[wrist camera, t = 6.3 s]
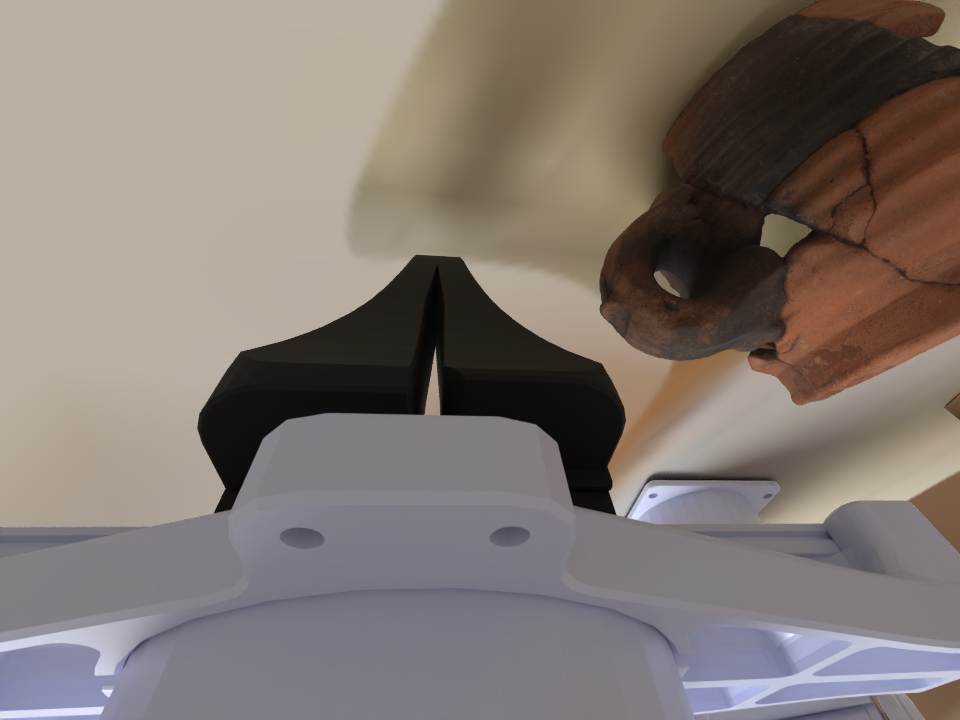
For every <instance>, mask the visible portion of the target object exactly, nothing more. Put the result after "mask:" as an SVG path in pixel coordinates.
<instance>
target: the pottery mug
mask: <svg viewBox="0 0 960 720" xmlns="http://www.w3.org/2000/svg"><path fill="white" fill-rule="evenodd" d="M944 17H945V12H944V11H943V10H942V9H940V8H938V7H936V6H934V5H931V4H928V3H924V2H920V1H912V0H821V1H819V2H817V3H815V4H813V5H811V6H809V7H807V8H804V9H802V10H801V11H799V12H798V13H796V14H795V15H793V16H789V17H787V18H786V19H784V20H782V21H781V22H779V23H778V24H776V25H775V26H773V27H772V28H771V29H769V30H768V31H767V32H765V33H764V34H763V35H761V36H760V37H758V38H757V39H755V40H754V41H752V42H750V43H748V44H747V45H746V46H744V47H743V48H742V49H741V50H740V51H739V52H738V53H737V54H736V55H735V56H734V58H733V59H731V60H730V61H729V62H728V63H727V64H726V65H725V66H723V67H722V68H721V69H720V70H718V71H717V72H716V73H715V74H714V75H713V76H712V77H711V78H710V79H709V81H708V82H707V83H706V84H705V85H704V86H703V87H702V88H701V89H700V90H699V91H698V92H697V93H696V95H695V96H694V97H693V99H692V100H691V101H690V103H689V105H688V107H687V108H686V109H685V110H684V112H683V113H682V114H681V115H680V117H679V118H678V120H677V121H676V122H675V124H674V126H673V127H672V129H671V130H670V132H669V133H668V135H667V137H666V138H665V140H664V142H663V145H662V148H663V151H664V152H665V154H666V155H667V156H668V157H669V159H670V160H672V161H673V163H674V170H675V171H676V173H677V174H678V175H679V177H680V181H681V185H680V186H677V187H674V188H670V189H668V190H666V191H664V192H662V193H661V194H659V195H658V196H657V198H656V199H655V200H654V202H653V203H652V205H651V207H650V209H649V210H648V211H647V212H645V213H644V214H642V215H641V216H640V217H639V218H637V219H636V220H635V221H634V222H633V223H632V224H631V225H630V226H629V227H628V228H627V229H626V230H625V231H624V232H623V233H622V234H621V235H620V236H619V237H618V238H617V239H616V240H615V241H614V242H613V244H612V245H611V247H610V248H609V250H608V252H607V254H606V257H605V261H604V265H603V268H602V270H601V274H600V280H599V281H600V292H601V300H602V304H601V305H600V313H601V315H602V316H603V318H604V319H606V320H607V321H608V322H609V323H610V324H611V325H612V326H613V327H614V328H615V330H616V331H617V332H618V333H619V334H620V335H621V336H622V337H623V338H624V339H625V340H626V341H627V342H628V343H629V344H630V345H631V346H633V347H634V348H636V349H638V350H640V351H642V352H644V353H646V354H649V355H652V356H655V357H658V358H664V359H669V360H678V361H682V360H694V359H700V358H705V357H709V356H711V355H714V354H716V353H719V352H721V351H724V350H728V349H733V350H736V351H740V352H746V351H751V352H750V354H749V356H748V361H749V364H750V366H751V368H752V370H754V371H757V372H762V373H766V374H770V375H773V376H775V377H777V378H778V379H779V380H780V381H781V382H782V384H783V385H784V386H785V387H786V388H787V389H788V391H789V392H790V394H791V399H792V401H793V402H794V403H795V404H796V405H804V404H806V403H809V402H813V401H820V400H824V399H826V398H828V397H830V396H832V395H835V394H836V393H839V392H841V391H843V390H844V389H845V388H849V387H851V386H854V385H857V384H859V383H861V382H863V381H865V380H868V379H870V378H872V377H874V376H876V375H878V374H880V373H882V372H884V371H886V370H888V369H891V368H893V367H895V366H896V365H899V364H901V363H903V362H905V361H907V360H909V359H911V358H912V357H914V356H916V355H918V354H921V353H923V352H925V351H926V350H928V349H931V348H933V347H935V346H937V345H939V344H941V343H943V342H945V341H947V340H949V339H951V338H954V337H956V336H958V335H959V334H960V49H958V48H955V47H953V46H949V45H947V46H937V45H934V44H932V43H930V42H928V41H927V40H925V39H923V38H921V37H928V36H932V35H934V34H935V33H936V32H937V31H938V30H939V28H940V26H941V24H942V22H943V20H944ZM772 213H773V214H778V215H781V216H785V217H787V218H789V219H792V220H794V221H796V222H798V223H801V224H804V225H807V226H808V227H809V228H811V229H812V231H811V232H810V233H809V234H808V235H807V236H806V237H805V238H803V239H802V240H800V241H799V242H798V243H796V244H794V245H793V246H792V248H791V249H790V250H789V251H788V253H787V254H786V255H785V256H784V257H780V256H779V255H778V254H777V253H776V252H775V251H773V250H771V249H769V248H767V247H762V246H760V240H761V236H762V227H763V224H764V221H765V220H764V218H765V216H767V215H769V214H772ZM655 271H660V272H661V273H662V274H663V275H664V276H665V278H666V279H667V280H668V282H669V283H670V286H671V287H672V288H673V289H674V290H676V291H677V292H678V293H679V294H680V297H678V296H675V295H673V294H671V293H669V292H667V291H666V290H664V289H663V288H662V287H661V286H660V285H659V284H658V283H657V281H656V280H655V277H654V273H655Z"/></svg>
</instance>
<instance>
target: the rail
mask: <svg viewBox="0 0 960 720" xmlns="http://www.w3.org/2000/svg"><path fill="white" fill-rule="evenodd" d="M944 408H946V409H947V410H948V411H949V412H951V413H952V414H953V415H954V416H956V417H957V418H958V419H960V394H959V395H958V396H957V397H956V398H955V399H954V400H952V401H951V402H950V403H949V404H948V405H947V406H946V407H944Z"/></svg>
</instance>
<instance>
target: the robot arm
mask: <svg viewBox="0 0 960 720" xmlns="http://www.w3.org/2000/svg"><path fill="white" fill-rule="evenodd" d="M435 346H436V359H437V372H438V385H439V397H440V415H424V414H425V406H426V400H427V394H428V387H429V382H430V376H431V370H432V364H433V358H434V352H435ZM625 422H626V418H625V412H624V406H623V404H622V402H621V400H620V397H619V395H618V393H617V391H616V388H615V386H614V384H613V383H612V381H611V379H610V377H609V375H608V374H607V372H606V370H605V369H604V367H603V365H602V364H601V363H599V362H596V361H593V360H591V359H588V358H585V357H582V356H580V355H577V354H574V353H572V352H569V351H567V350H564V349H563V348H560V347H558V346H556V345H554V344H552V343H550V342H548V341H546V340H544V339H543V338H541V337H539V336H537V335H536V334H534V333H532V332H531V331H529V330H528V329H526V328H525V327H523V326H522V325H520V324H519V323H517V322H516V321H515V320H513V319H512V318H511V317H510V316H509V315H507V314H506V313H505V312H504V311H502V310H501V309H500V308H499V307H498V306H497V305H496V304H495V303H494V302H493V301H492V300H491V299H490V298H489V296H488V295H487V294H486V293H485V292H484V290H483V289H482V288H481V287H480V285H479V284H478V283H477V281H476V280H475V279H474V277H473V276H472V274H471V273H470V271H469V270H468V268H467V266H466V264H465V263H464V261H463V260H462V259H461V258H460V257H445V256H428V255H415V256H414V257H413V258H412V259H411V260H410V262H409V263H408V264H407V265H406V266H405V267H404V269H403V270H402V271H401V272H400V273H399V274H398V275H397V276H396V277H395V278H394V279H393V280H392V281H391V282H390V283H389V284H388V285H387V286H386V287H385V288H384V289H383V290H382V291H380V292H379V293H378V294H377V295H376V296H375V297H373V298H372V299H371V300H369V301H368V302H367V303H365V304H364V305H362V306H360V307H359V308H357V309H356V310H354V311H352V312H351V313H349V314H347V315H345V316H344V317H341V318H339V319H337V320H335V321H333V322H331V323H329V324H328V325H325V326H323V327H321V328H318V329H316V330H313V331H311V332H308V333H305V334H303V335H300V336H297V337H294V338H291V339H288V340H285V341H281V342H278V343H274V344H270V345H266V346H262V347H258V348H255V349H251V350H246V351H242V352H240V354H239V355H238V356H237V358H236V359H235V360H234V362H233V363H232V364H231V366H230V367H229V368H228V369H227V371H226V372H225V374H224V376H223V377H222V379H221V380H220V382H219V384H218V385H217V387H216V388H215V390H214V392H213V393H212V395H211V396H210V398H209V399H208V401H207V403H206V404H205V406H204V408H203V409H202V411H201V412H200V414H199V420H198V432H199V435H200V438H201V442H202V444H203V446H204V448H205V450H206V452H207V454H208V455H209V457H210V459H211V461H212V463H213V465H214V467H215V469H216V471H217V473H218V475H219V477H220V478H221V480H222V482H223V484H224V486H225V488H226V489H225V491H224V493H223V495H222V497H221V499H220V501H219V504H218V505H217V508H216V510H215V512H214V514H209V515H204V516H200V517H195V518H190V519H185V520H181V521H176V522H171V523H166V524H162V525H157V526H152V527H0V720H886V718H885V716H884V715H883V713H882V712H881V710H880V708H879V707H878V705H877V703H876V702H875V700H874V698H873V697H872V695H875V696H876V698H877V700H878V701H879V703H880V704H881V706H882V708H883V709H884V711H885V715H886V717H887V719H888V720H925V719H924V718H923V717H922V715H921V714H920V712H919V711H918V710H917V708H916V707H915V705H914V704H913V703H912V701H911V700H910V699H909V697H907V696H906V695H905V694H903V693H916V692H923V691H926V690H928V689H931V688H934V687H937V686H940V685H943V684H945V683H948V682H951V681H954V680H957V679H960V554H959V553H958V552H957V551H956V550H955V549H954V547H953V546H952V545H951V544H950V543H949V542H948V541H947V540H946V539H945V538H944V537H943V536H942V535H941V534H940V533H939V532H938V531H937V530H936V529H935V527H934V526H933V525H932V524H931V523H930V522H929V521H928V520H927V519H926V518H925V517H924V516H923V515H922V514H921V513H920V512H919V511H918V510H917V508H916V507H915V506H914V505H913V504H912V503H911V502H907V501H855V502H850V503H847V504H844V505H842V506H840V507H839V508H837V509H836V510H834V511H833V512H832V513H831V514H830V515H829V516H828V517H827V518H826V519H825V521H824V523H823V524H763V523H762V522H761V520H760V519H759V517H758V515H757V514H758V513H759V512H760V511H761V510H762V509H763V508H764V507H765V506H766V505H767V504H768V503H769V502H770V501H771V500H772V499H773V498H774V496H775V495H776V494H777V493H778V492H779V491H780V490H781V487H780V486H779V484H778V483H777V482H776V481H725V480H653V481H650V482H648V483H647V484H646V486H645V487H644V489H643V491H642V492H641V494H640V496H639V497H638V499H637V501H636V503H635V504H634V506H633V508H632V509H631V511H630V513H629V515H628V516H627V518H626V517H622V516H617V515H616V512H615V509H614V506H613V503H612V500H611V497H610V494H609V491H608V490H611V488H612V479H611V476H610V473H609V470H608V467H607V466H608V464H609V462H610V460H611V458H612V455H613V453H614V451H615V449H616V447H617V445H618V442H619V440H620V438H621V436H622V434H623V429H624V426H625Z"/></svg>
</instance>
